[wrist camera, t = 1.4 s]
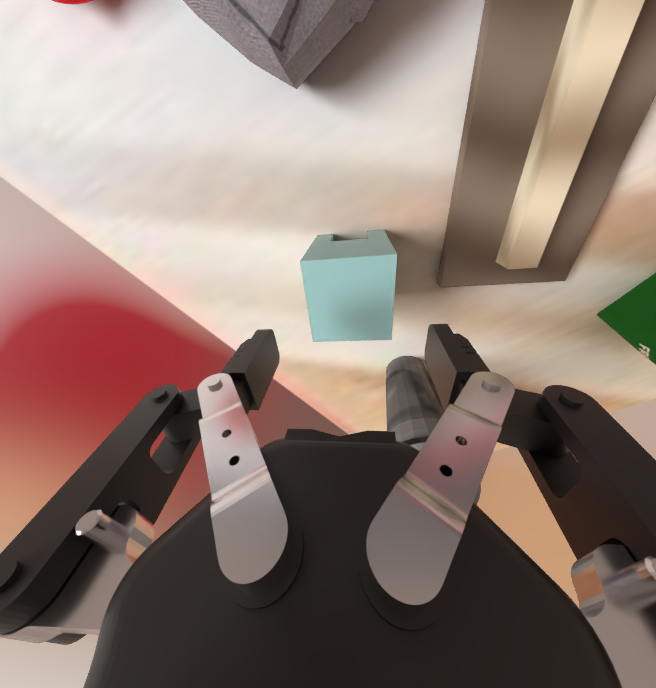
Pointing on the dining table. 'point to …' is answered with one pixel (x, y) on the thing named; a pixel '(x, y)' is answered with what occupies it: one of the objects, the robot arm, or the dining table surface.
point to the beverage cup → (412, 403)
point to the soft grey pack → (282, 30)
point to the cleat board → (510, 135)
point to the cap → (72, 1)
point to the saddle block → (350, 287)
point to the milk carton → (636, 317)
